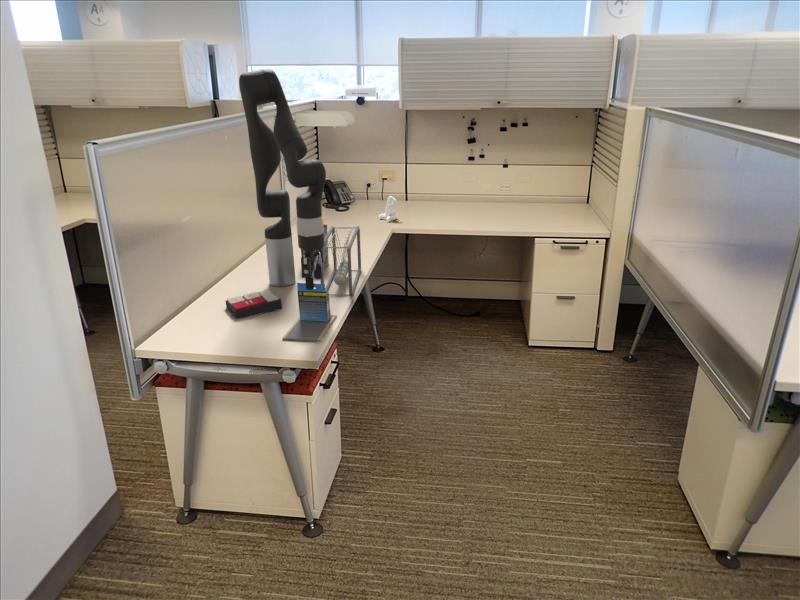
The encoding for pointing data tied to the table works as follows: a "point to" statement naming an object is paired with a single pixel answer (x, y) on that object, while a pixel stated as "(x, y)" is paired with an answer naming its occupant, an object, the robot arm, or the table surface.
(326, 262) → the coffee box
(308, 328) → the mat
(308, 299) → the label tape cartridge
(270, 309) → the black red flat box
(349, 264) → the newton's cradle
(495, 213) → the table surface
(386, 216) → the sitting furry creature
